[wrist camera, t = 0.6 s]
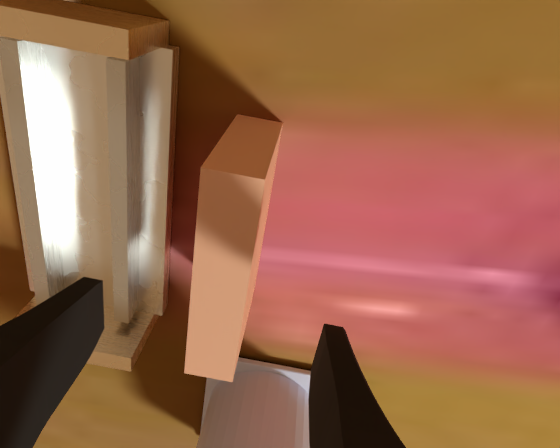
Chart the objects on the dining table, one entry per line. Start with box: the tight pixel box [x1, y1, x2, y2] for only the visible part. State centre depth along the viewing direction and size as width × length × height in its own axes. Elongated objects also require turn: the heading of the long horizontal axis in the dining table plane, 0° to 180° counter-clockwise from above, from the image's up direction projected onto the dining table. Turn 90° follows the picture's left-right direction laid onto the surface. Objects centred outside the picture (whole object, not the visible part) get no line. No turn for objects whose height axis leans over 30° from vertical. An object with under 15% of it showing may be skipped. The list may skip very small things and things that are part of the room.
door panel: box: [184, 114, 283, 382], centre depth 20 cm, size 10×2×7 cm, turn 171°
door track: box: [0, 0, 180, 372], centre depth 21 cm, size 17×8×4 cm, turn 171°
